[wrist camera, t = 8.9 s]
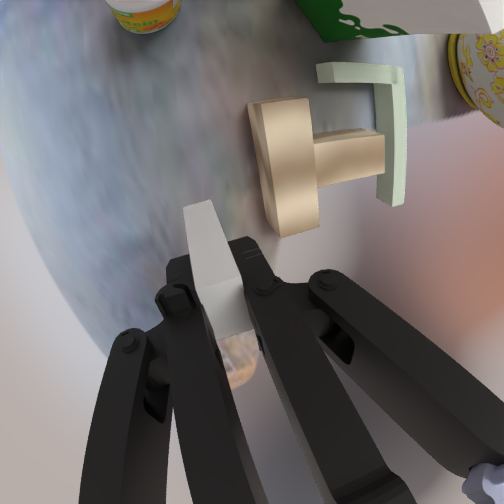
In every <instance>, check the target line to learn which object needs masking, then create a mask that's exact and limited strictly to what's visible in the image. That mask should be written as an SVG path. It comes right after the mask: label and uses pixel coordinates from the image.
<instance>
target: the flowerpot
mask: <svg viewBox="0 0 504 504" xmlns="http://www.w3.org/2000/svg"><path fill="white" fill-rule="evenodd" d="M448 60H449V66H450V71H451V74H452V78H453V80H454V83H455V85H456V87H457V89H458V91H459V93H460V94H461V95H462V97H463V98H464V99H465V101H466V102H467V103H468V104H469V105H470V106H471V107H473V108H475V109H480V111H481V112H482V113H483V114H484V115H485V116H486V117H488V118H489V119H490V120H491V121H493V122H494V123H495V124H497V125H498V126H500V127H502V128H504V29H502V30H500V31H498V32H496V33H495V34H492V35H491V34H451V35H450V38H449V41H448Z"/></svg>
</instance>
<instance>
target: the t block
mask: <svg viewBox="0 0 504 504" xmlns="http://www.w3.org/2000/svg"><path fill="white" fill-rule="evenodd" d="M247 107H248V113H249V118H250V124H251V130H252V136H253V141H254V147H255V153H256V159H257V165H258V171H259V177H260V183H261V189H262V195H263V202H264V208H265V214H266V220H267V222H268V223H269V224H270V226H271V227H272V228H273V229H274V231H275V232H276V233H277V234H278V236H279V237H280V238H284V237H287V236H291V235H294V234H297V233H301V232H304V231H307V230H311V229H314V228H317V227H319V208H318V192H317V188H318V187H323V186H327V185H331V184H336V183H340V182H345V181H349V180H353V179H358V178H363V177H368V176H372V175H377V174H382V173H385V135H383V134H380V133H376V132H372V131H369V130H365V129H361V128H358V129H349V130H340V131H332V132H325V133H318V134H313V133H312V124H311V116H310V108H309V100H308V98H295V97H287V98H279V99H272V100H265V101H258V102H252V103H247Z"/></svg>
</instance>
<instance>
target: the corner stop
mask: <svg viewBox="0 0 504 504" xmlns="http://www.w3.org/2000/svg"><path fill="white" fill-rule="evenodd" d="M315 65H316V71H317V78H318V83H373V87H374V98H375V111H376V130H377V133H380V134H383V135H385V173H382V174H377V198H378V199H380V200H381V201H383V202H385V203H387V204H388V205H390V206H392V207H394V206H397V205H400V204H404V194H405V181H406V158H407V156H406V155H407V118H406V97H405V83H404V73H403V67H397V66H389V65H380V64H369V63H353V62H327V63H320V64H315Z"/></svg>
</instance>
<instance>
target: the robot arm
mask: <svg viewBox="0 0 504 504" xmlns="http://www.w3.org/2000/svg"><path fill="white" fill-rule="evenodd" d="M183 213H184V221H185V228H186V235H187V241H188V248H189V254H188V255H184V256H181V257H178V258H174V259H171V260H170V261H169V263H168V265H167V267H166V276H167V277H166V278H167V285H165V286H164V287H163V288H161V289H160V290H159V291H158V293H157V294H156V297H155V303H156V304H157V306H158V308H159V310H160V312H161V314H162V315H163V317H164V320H163V321H162V322H161V323H160V324H159V325H157V326H156V327H154V328H152V329H151V330H149V331H147V332H144V331H142V330H141V329H137V328H131V329H127V330H125V331H123V332H122V333H120V334H119V335H118V336H117V337H116V339H115V341H114V343H113V345H112V348H111V351H110V355H109V358H108V361H107V365H106V368H105V371H104V375H103V378H102V382H101V386H100V390H99V393H98V397H97V401H96V405H95V409H94V413H93V418H92V423H91V427H90V431H89V436H88V442H87V447H86V452H85V458H84V464H83V470H82V477H81V485H80V494H79V504H166V484H167V467H168V454H169V441H170V431H171V421H172V411H173V409H174V415H175V420H176V427H177V433H178V438H179V444H180V449H181V454H182V459H183V463H184V468H185V472H186V477H187V481H188V485H189V489H190V493H191V497H192V501H193V504H269V503H268V500H267V497H266V495H265V492H264V489H263V487H262V484H261V481H260V479H259V476H258V473H257V470H256V467H255V464H254V461H253V459H252V456H251V453H250V450H249V447H248V444H247V441H246V438H245V434H244V431H243V428H242V425H241V422H240V419H239V416H238V412H237V409H236V406H235V402H234V399H233V396H232V392H231V389H230V385H229V382H228V378H227V375H226V371H225V367H224V364H223V360H222V356H221V353H220V350H219V348H218V345H217V343H216V340H219V339H223V338H226V337H229V336H233V335H236V334H239V333H242V332H246V331H249V330H252V329H254V330H255V333H256V337H257V341H258V345H259V349H260V351H262V353H263V356H264V359H265V361H266V364H267V366H268V369H269V371H270V374H271V376H272V379H273V382H274V384H275V387H276V389H277V391H278V394H279V397H280V399H281V402H282V404H283V406H284V409H285V411H286V413H287V416H288V419H289V421H290V423H291V426H292V428H293V431H294V433H295V435H296V438H297V440H298V443H299V445H300V447H301V450H302V452H303V454H304V456H305V459H306V461H307V464H308V466H309V468H310V470H311V473H312V475H313V477H314V480H315V482H316V484H317V487H318V489H319V491H320V493H321V495H322V498H323V500H324V504H417V503H416V501H415V499H414V497H413V495H412V494H411V492H410V490H409V488H408V487H407V485H406V483H405V482H404V481H403V480H402V479H401V478H400V477H399V476H398V475H396V474H395V473H393V472H391V470H390V469H389V468H388V466H387V465H386V463H385V462H384V460H383V458H382V456H381V454H380V452H379V450H378V448H377V447H376V445H375V443H374V441H373V439H372V438H371V436H370V434H369V432H368V430H367V428H366V426H365V425H364V423H363V421H362V419H361V417H360V416H359V414H358V412H357V410H356V409H355V407H354V405H353V403H352V401H351V400H350V398H349V396H348V394H347V393H346V390H345V389H344V387H343V385H342V383H341V381H340V380H339V378H338V376H337V374H336V372H335V371H334V369H333V367H332V365H331V364H330V362H329V360H328V358H327V357H326V355H325V353H324V351H325V352H326V354H327V355H329V357H331V359H332V360H334V362H336V364H338V366H339V367H340V368H341V369H342V370H343V371H344V372H345V373H346V374H347V375H348V376H349V377H350V378H351V379H353V381H354V382H355V383H356V384H357V385H358V386H360V387H361V388H362V389H363V391H365V393H367V395H369V396H370V397H371V398H372V399H373V400H374V401H375V402H376V403H377V404H378V405H379V406H380V407H381V408H382V409H383V410H384V411H385V412H386V413H387V414H388V415H389V416H390V417H391V418H392V419H393V420H394V421H395V422H396V423H397V424H398V425H399V426H400V427H401V428H402V429H403V430H404V431H405V432H407V433H408V434H409V435H410V436H411V437H412V438H413V439H414V440H415V441H416V442H417V443H418V444H419V445H420V446H421V447H422V448H423V449H424V450H425V451H426V452H427V453H428V454H430V455H431V456H432V457H433V458H434V459H435V460H436V461H437V462H438V463H439V464H441V465H442V466H443V467H444V468H446V469H447V470H448V471H450V472H452V473H454V474H455V475H457V476H460V477H463V478H466V480H465V481H464V483H463V485H462V492H463V493H464V494H466V495H467V497H468V498H469V499H471V500H472V501H473V502H475V504H504V402H503V401H501V400H500V399H499V398H498V397H497V396H496V395H495V394H493V393H492V392H491V391H490V390H489V389H488V388H487V387H486V386H484V385H483V384H482V383H481V382H480V381H479V380H477V379H476V378H475V377H474V376H473V375H472V374H470V373H469V372H468V371H467V370H466V369H465V368H463V367H462V366H461V365H460V364H459V363H457V362H456V361H455V360H454V359H452V358H451V357H450V356H449V355H448V354H446V353H445V352H444V351H443V350H441V349H440V348H439V347H438V346H437V345H435V344H434V343H433V342H432V341H430V340H429V339H428V338H426V337H425V336H424V335H423V334H421V333H420V332H419V331H418V330H416V329H415V328H414V327H413V326H411V325H410V324H409V323H408V322H406V321H405V320H403V319H402V318H401V317H400V316H398V315H397V314H396V313H395V312H393V311H392V310H390V309H389V308H388V307H387V306H385V305H384V304H383V303H382V302H380V301H379V300H378V299H376V298H375V297H373V296H372V295H371V294H369V293H368V292H367V291H365V290H364V289H363V288H361V287H360V286H359V285H357V284H356V283H355V282H353V281H352V280H351V279H349V278H348V277H347V276H345V275H344V274H343V273H340V272H339V271H336V270H331V269H326V270H320V271H318V272H315V273H314V274H313V275H312V276H311V277H310V279H309V281H308V283H286V282H283V281H282V280H281V279H280V278H279V277H277V276H275V275H274V273H273V271H272V269H271V268H270V266H269V264H268V262H267V260H266V259H265V257H264V255H263V254H262V252H261V250H260V249H259V246H258V245H257V243H256V241H255V240H253V239H252V238H250V237H248V236H246V237H242V238H239V239H236V240H232V241H229V242H227V240H226V238H225V235H224V233H223V230H222V228H221V225H220V222H219V220H218V217H217V215H216V212H215V210H214V207H213V205H212V202H211V199H210V200H206V201H203V202H199V203H196V204H192V205H189V206H186V207H183ZM253 327H254V328H253ZM215 338H216V339H215ZM323 350H324V351H323Z"/></svg>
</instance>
